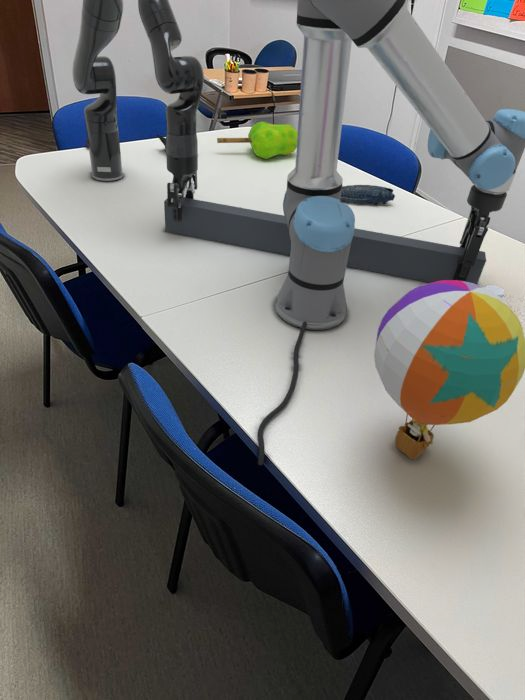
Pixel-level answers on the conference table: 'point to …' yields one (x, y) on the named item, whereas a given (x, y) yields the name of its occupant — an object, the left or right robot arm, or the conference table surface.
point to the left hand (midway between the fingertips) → (183, 214)
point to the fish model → (366, 194)
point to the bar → (365, 248)
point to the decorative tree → (268, 139)
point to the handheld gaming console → (162, 140)
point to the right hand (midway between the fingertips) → (456, 281)
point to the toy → (448, 357)
